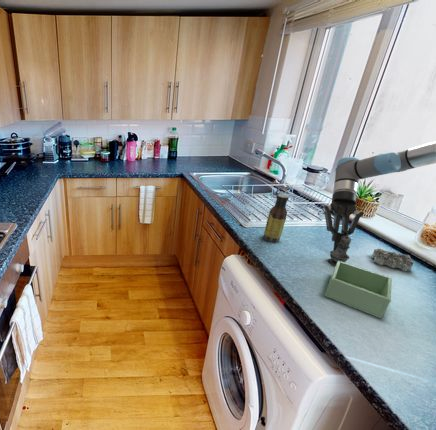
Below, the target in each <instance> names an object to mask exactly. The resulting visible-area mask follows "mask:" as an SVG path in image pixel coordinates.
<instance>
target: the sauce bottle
mask: <svg viewBox="0 0 436 430" xmlns="http://www.w3.org/2000/svg"><path fill="white" fill-rule="evenodd" d="M288 201H289V195H288V194H284V193H278V194H277V195H276V201H275V204H274V205H273V206H272V207H271V208H270V210H269V213H268V217H267V220H266V224H265V227H264V231H263V239H265V240H266V241H267V242H271V243H278V242H279V241H280V238H281V236H282V234H283V230H284V226H285V223H286V220H287V215H288V210H287V208H286V206H287V204H288V203H287V202H288Z"/></svg>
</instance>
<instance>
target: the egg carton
mask: <svg viewBox="0 0 436 430" xmlns="http://www.w3.org/2000/svg"><path fill="white" fill-rule="evenodd" d="M371 258H372V259H373V263H376V264H378V265H379V266H383V265H384V266H388V267H389V268H392V269H395V268H396V269H400V270H401V271H404V272H408V271H411V269H412V267H415V265H414V262H413V259H412V258H411V255H410V254H405V253H404V254H401V253H397V252H394V251H389V250H385V249H382V248H373V253H372V255H371Z"/></svg>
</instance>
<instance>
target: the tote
mask: <svg viewBox="0 0 436 430" xmlns="http://www.w3.org/2000/svg"><path fill="white" fill-rule="evenodd" d="M392 280H393V278H392V277H390V276H387V275H384V274H381V273H378V272H375V271H372V270H368V269H365V268H362V267H360V266H356V265H353V264H350V263H347V262H341V261H338V262H337V264H336V266H334V269H333V271H332V274H331V276H330V279H329V282H328V283H327V287H326V290H325V293H324V295H323V296H324V297H326V298H329V299H330V300H331V299H332V300H334V301H336V302H338V303H342V304H344V305H346V306H349V307H351V308H354V309H356V310H359V311H361V312H364V313H367V314H369V315H371V316H374V317H376V318H379V319H382V317H383V316H384V314H385V312H386V310H387V309H388V307H389V305H390V303H391V301H392V286H393V285H392V284H393V281H392Z"/></svg>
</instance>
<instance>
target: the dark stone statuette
mask: <svg viewBox="0 0 436 430" xmlns="http://www.w3.org/2000/svg"><path fill="white" fill-rule="evenodd" d="M351 242H352V238H351V237H350V235H347V236H343V237H341V240H340V242H339V243H338V244H337V245H338V246H337V249H336V250H330V251H329V257H330V258H328V259H327V262H328V263H329V264H330V265H331V266H334V267H335V266H336V264H337V262H338V261H341V262H344V263H347V261H348V260H349V259H350V255H348V254H347V252H348V250H349V249H350V244H351Z"/></svg>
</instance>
